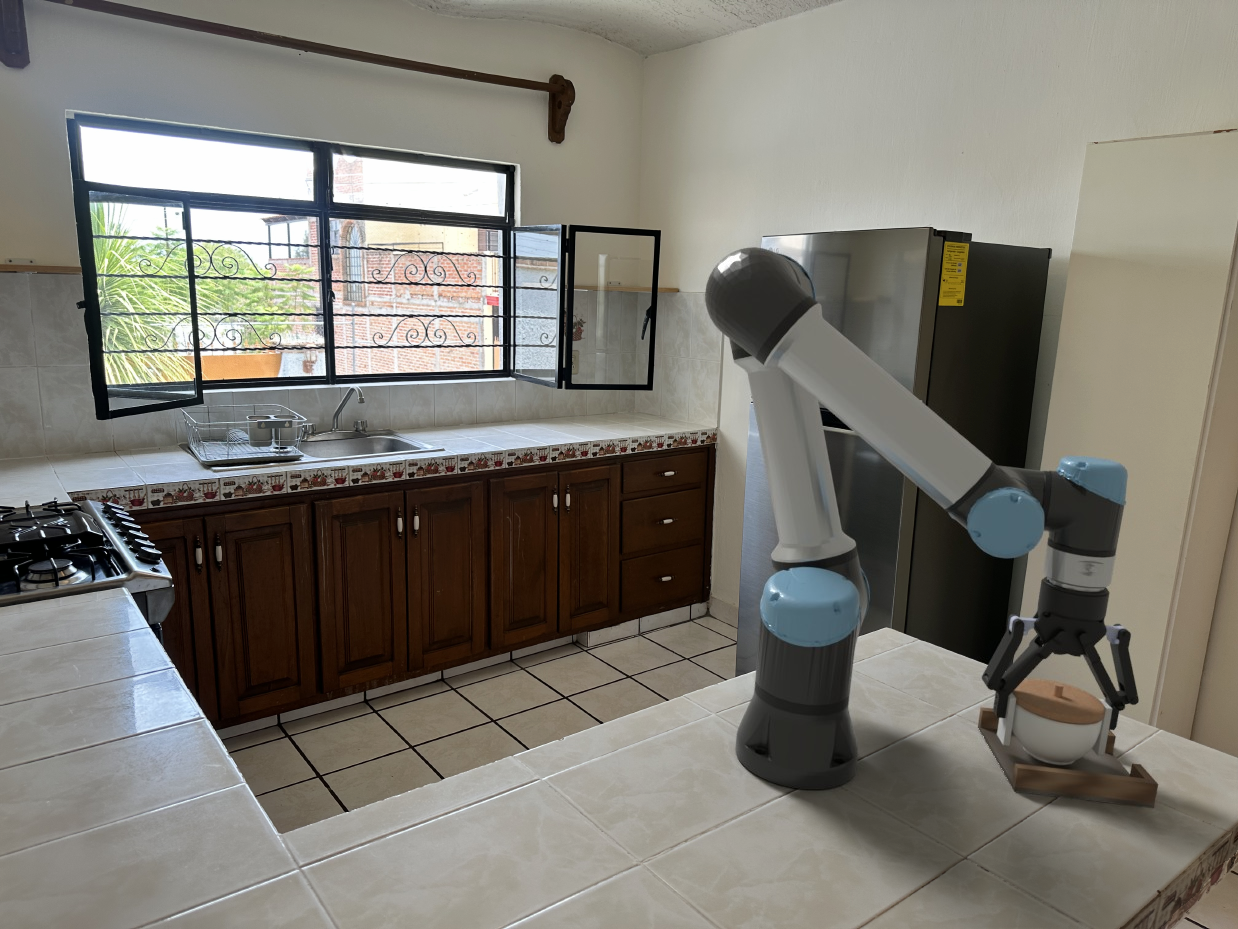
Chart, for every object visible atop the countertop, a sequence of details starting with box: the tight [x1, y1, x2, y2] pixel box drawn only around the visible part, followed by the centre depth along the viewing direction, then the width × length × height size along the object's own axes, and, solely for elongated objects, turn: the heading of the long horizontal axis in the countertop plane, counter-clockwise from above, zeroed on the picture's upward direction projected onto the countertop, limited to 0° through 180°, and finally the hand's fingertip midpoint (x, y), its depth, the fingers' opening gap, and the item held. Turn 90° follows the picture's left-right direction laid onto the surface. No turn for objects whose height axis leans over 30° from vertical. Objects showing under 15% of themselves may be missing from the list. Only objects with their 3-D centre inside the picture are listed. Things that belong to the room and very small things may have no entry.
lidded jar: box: [1012, 678, 1105, 765], centre depth 108 cm, size 11×11×9 cm
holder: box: [977, 706, 1159, 809], centre depth 108 cm, size 16×16×3 cm
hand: (1049, 745), depth 108 cm, fingers closed on lidded jar, 11 cm apart
